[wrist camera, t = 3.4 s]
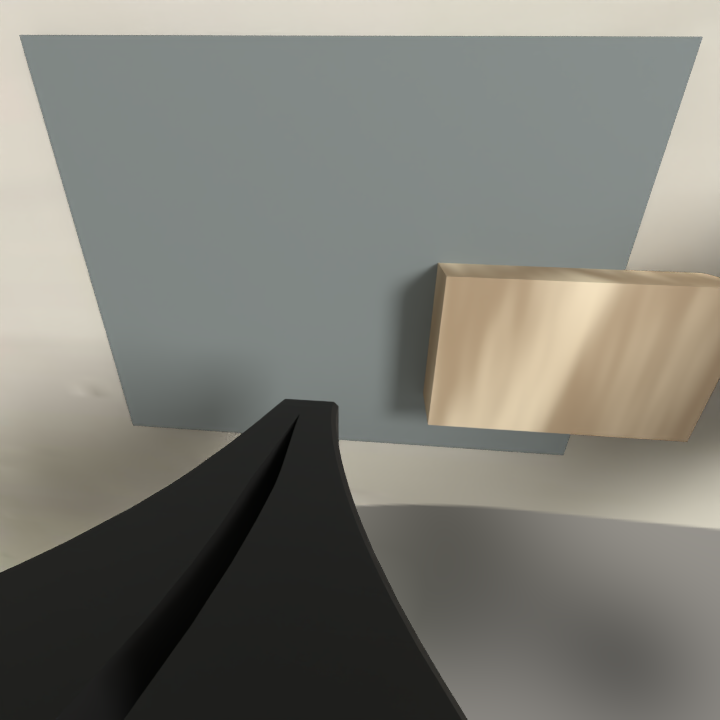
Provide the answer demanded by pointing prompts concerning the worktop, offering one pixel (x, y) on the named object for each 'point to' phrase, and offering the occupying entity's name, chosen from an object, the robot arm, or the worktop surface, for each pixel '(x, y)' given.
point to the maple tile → (572, 350)
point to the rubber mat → (337, 202)
